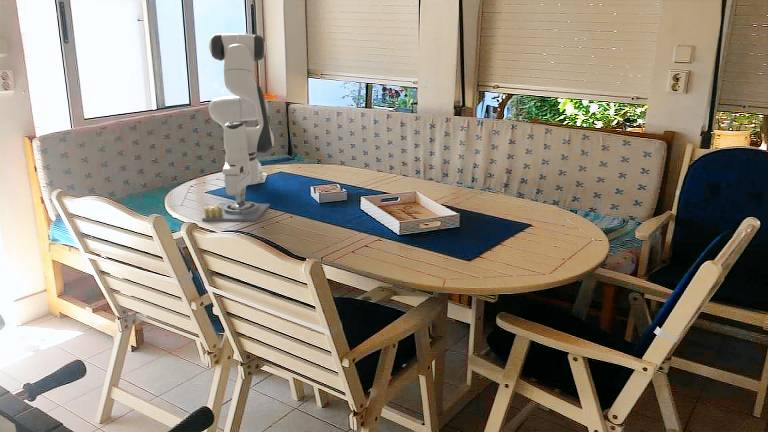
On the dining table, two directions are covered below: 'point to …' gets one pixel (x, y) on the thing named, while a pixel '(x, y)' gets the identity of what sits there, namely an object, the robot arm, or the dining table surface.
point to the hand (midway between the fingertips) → (240, 200)
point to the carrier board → (234, 212)
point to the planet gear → (241, 204)
